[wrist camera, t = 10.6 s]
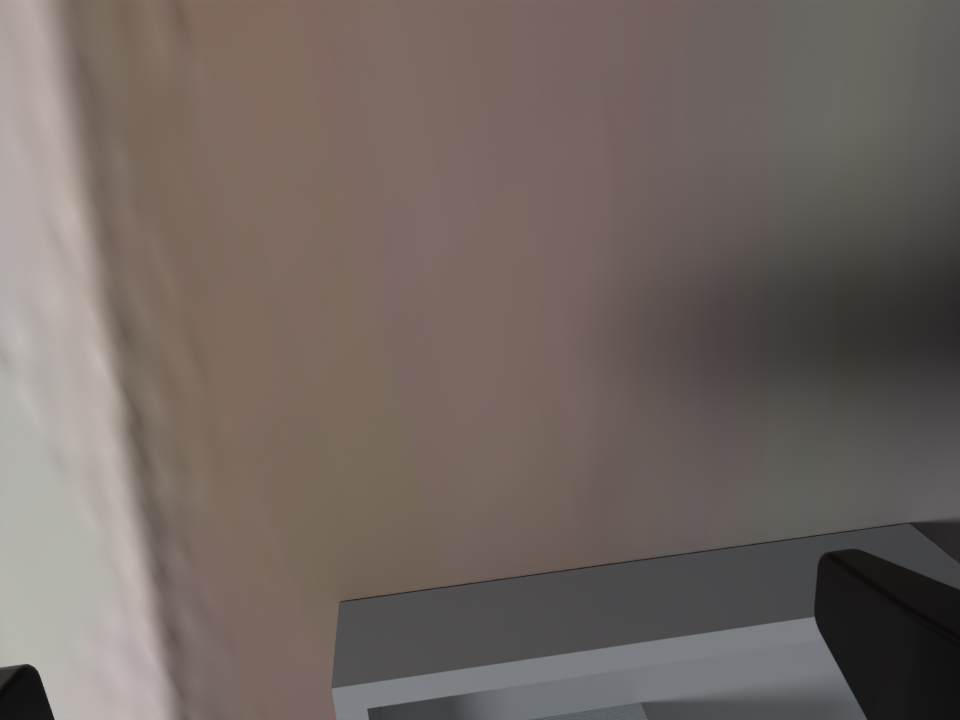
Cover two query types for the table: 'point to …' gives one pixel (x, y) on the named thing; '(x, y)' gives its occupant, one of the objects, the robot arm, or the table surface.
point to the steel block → (604, 714)
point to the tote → (616, 639)
